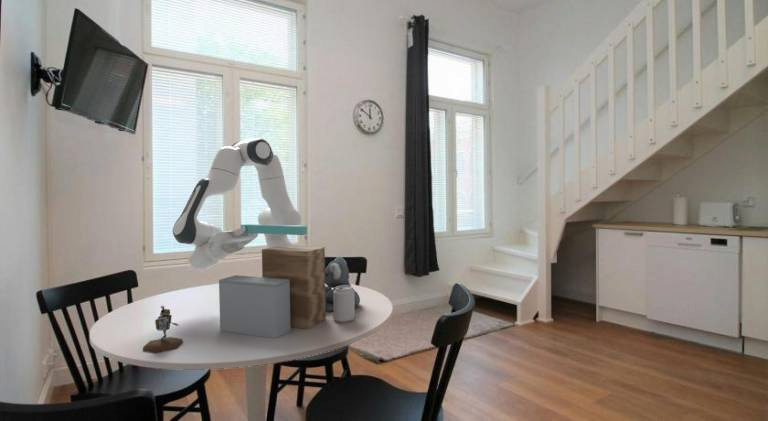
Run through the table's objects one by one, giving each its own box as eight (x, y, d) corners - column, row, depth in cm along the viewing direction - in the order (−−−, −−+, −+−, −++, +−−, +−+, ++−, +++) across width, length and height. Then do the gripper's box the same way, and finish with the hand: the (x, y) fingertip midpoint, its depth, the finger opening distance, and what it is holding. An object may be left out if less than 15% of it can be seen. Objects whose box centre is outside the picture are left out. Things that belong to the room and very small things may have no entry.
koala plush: (321, 300, 175) (320, 254, 175) (363, 301, 174) (363, 255, 173) (310, 312, 158) (309, 261, 157) (356, 313, 156) (356, 262, 155)
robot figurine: (173, 352, 119) (172, 311, 119) (138, 354, 118) (137, 312, 117) (185, 339, 130) (184, 301, 130) (153, 340, 129) (152, 302, 128)
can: (345, 315, 154) (345, 283, 153) (358, 319, 148) (358, 286, 148) (329, 320, 148) (328, 286, 148) (342, 324, 143) (342, 290, 143)
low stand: (236, 323, 145) (235, 275, 144) (290, 330, 138) (289, 279, 137) (220, 330, 138) (218, 279, 137) (276, 338, 130) (275, 284, 129)
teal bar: (246, 232, 155) (246, 224, 155) (307, 234, 146) (307, 225, 146) (240, 232, 152) (240, 224, 152) (302, 235, 143) (302, 226, 143)
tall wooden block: (283, 314, 156) (281, 245, 155) (325, 318, 150) (324, 247, 149) (263, 323, 145) (261, 249, 144) (308, 329, 139) (307, 251, 137)
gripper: (199, 240, 148) (226, 221, 143) (238, 235, 167) (262, 218, 162) (206, 256, 147) (234, 237, 142) (244, 248, 166) (269, 232, 161)
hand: (249, 227), depth 152 cm, fingers closed on teal bar, 3 cm apart
